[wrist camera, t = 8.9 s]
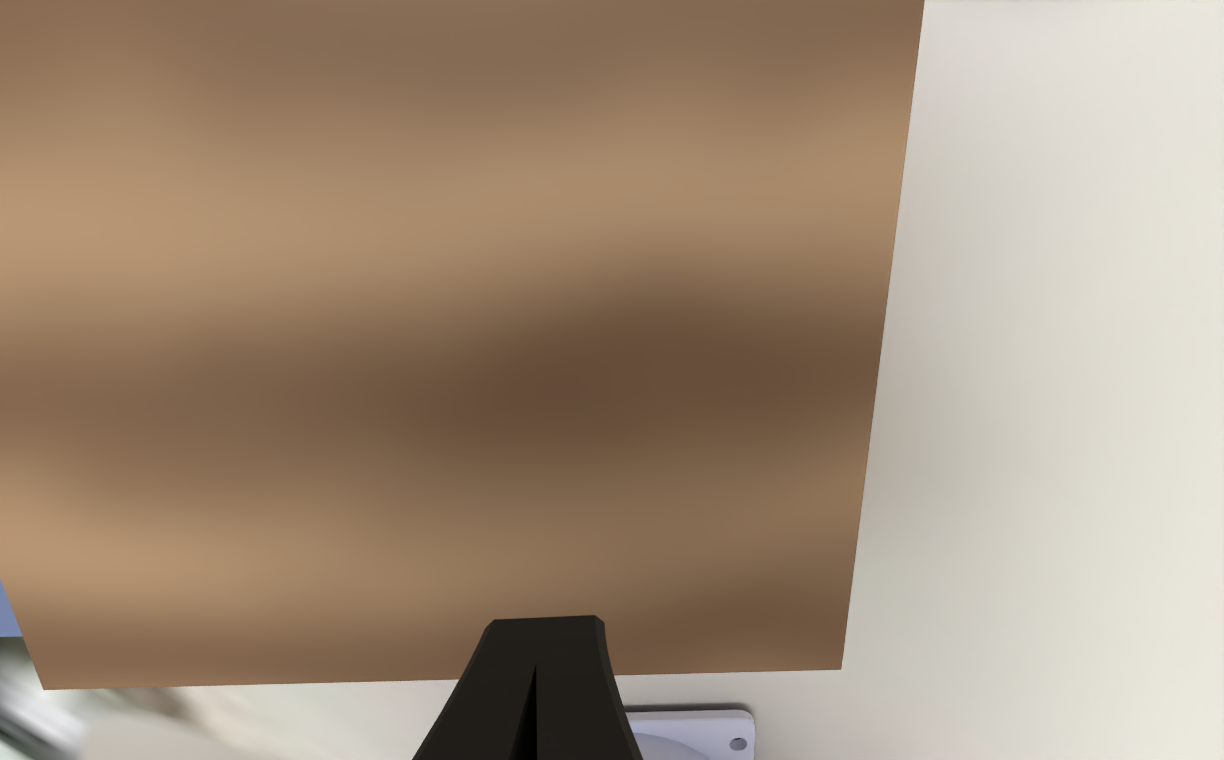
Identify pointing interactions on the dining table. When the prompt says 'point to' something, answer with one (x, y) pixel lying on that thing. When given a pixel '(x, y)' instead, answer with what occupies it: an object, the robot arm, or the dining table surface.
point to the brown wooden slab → (439, 329)
